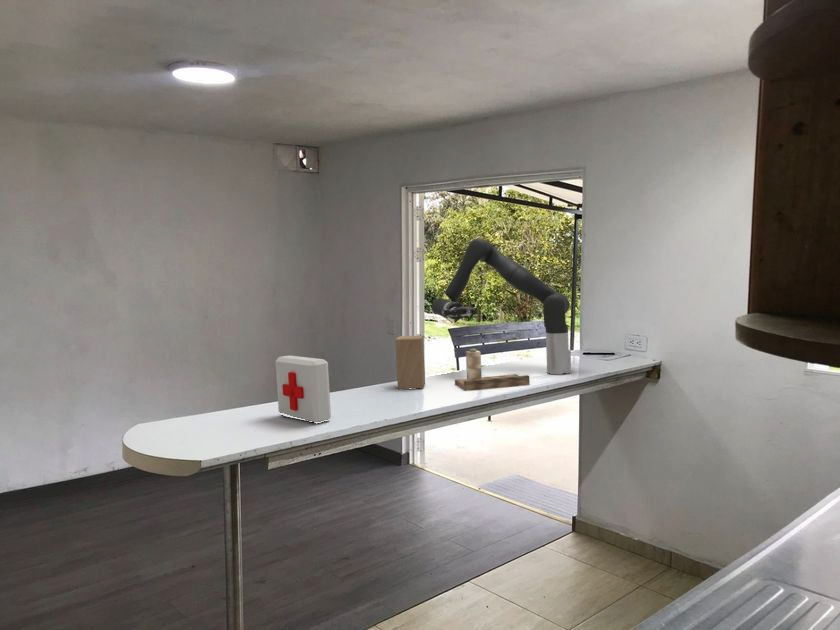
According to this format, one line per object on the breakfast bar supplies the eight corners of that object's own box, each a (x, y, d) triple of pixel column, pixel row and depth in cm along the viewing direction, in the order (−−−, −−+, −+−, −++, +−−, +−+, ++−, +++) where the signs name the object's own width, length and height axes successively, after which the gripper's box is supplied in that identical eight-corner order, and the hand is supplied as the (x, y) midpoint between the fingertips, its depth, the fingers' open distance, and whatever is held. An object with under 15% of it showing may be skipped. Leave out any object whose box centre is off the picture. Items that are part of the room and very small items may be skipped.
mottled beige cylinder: (477, 380, 257) (476, 347, 256) (481, 382, 253) (480, 349, 252) (467, 381, 256) (465, 348, 255) (470, 383, 252) (469, 350, 251)
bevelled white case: (274, 417, 219) (270, 357, 217) (294, 412, 225) (291, 354, 223) (312, 426, 204) (308, 362, 203) (333, 421, 210) (329, 358, 208)
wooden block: (425, 384, 266) (423, 335, 265) (423, 389, 256) (420, 338, 255) (400, 385, 267) (398, 336, 266) (397, 389, 257) (395, 339, 256)
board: (516, 379, 269) (515, 370, 268) (529, 384, 255) (529, 375, 255) (454, 384, 263) (454, 375, 262) (465, 390, 249) (465, 381, 249)
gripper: (437, 302, 281) (447, 304, 265) (469, 300, 284) (481, 302, 268) (438, 320, 281) (448, 323, 266) (469, 318, 285) (482, 320, 269)
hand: (465, 312), depth 267 cm, fingers open, 8 cm apart
